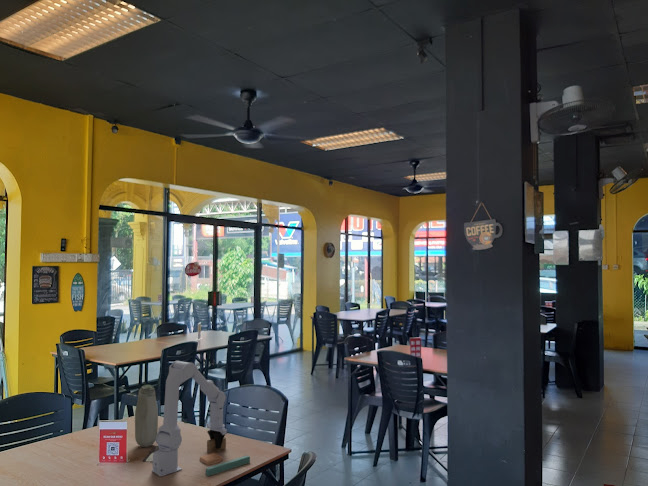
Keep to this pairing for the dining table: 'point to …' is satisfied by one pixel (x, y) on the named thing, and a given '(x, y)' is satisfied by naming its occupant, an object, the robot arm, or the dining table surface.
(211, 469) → the rail
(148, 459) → the chocolate bar
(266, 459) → the dining table surface
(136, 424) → the olive grey vase
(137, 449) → the dining table surface
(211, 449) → the tall cardboard box
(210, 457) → the tile
